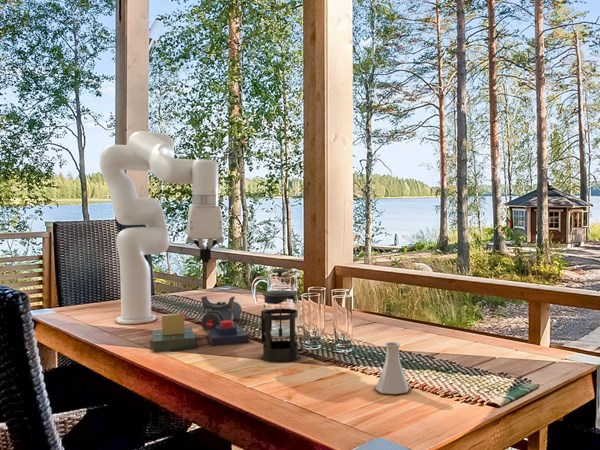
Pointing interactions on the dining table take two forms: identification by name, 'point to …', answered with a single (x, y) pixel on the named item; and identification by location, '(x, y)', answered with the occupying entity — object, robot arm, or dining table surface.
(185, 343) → the panel
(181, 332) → the tan flat block
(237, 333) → the button block
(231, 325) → the red button
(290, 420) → the dining table surface
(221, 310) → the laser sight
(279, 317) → the french press
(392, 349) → the flask
